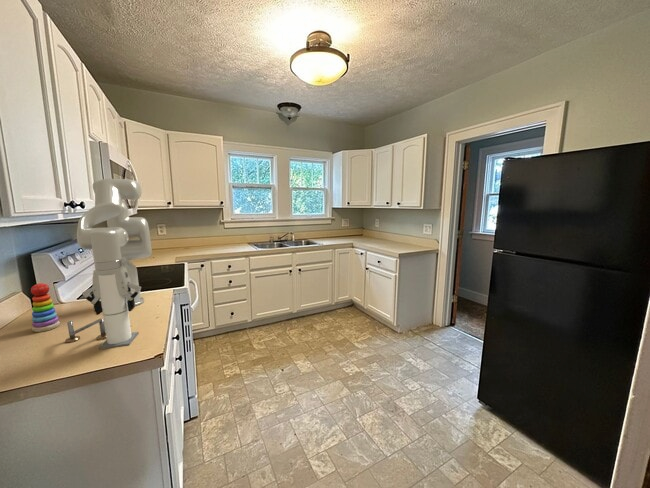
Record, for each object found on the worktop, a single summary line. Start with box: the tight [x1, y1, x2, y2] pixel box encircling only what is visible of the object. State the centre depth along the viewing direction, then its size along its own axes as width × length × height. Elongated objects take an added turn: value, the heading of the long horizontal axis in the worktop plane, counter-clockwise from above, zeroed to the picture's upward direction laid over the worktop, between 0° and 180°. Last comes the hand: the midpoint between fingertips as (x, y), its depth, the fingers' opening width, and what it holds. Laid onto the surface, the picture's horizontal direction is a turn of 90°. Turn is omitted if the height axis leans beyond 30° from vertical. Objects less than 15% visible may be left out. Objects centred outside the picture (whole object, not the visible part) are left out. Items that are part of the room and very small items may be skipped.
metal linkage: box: [65, 318, 107, 344], centre depth 96 cm, size 14×14×8 cm
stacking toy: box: [30, 282, 61, 333], centre depth 108 cm, size 8×8×19 cm
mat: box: [98, 331, 140, 350], centre depth 99 cm, size 9×9×1 cm
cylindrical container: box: [98, 274, 132, 344], centre depth 97 cm, size 7×7×25 cm
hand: (115, 311), depth 97 cm, fingers open, 9 cm apart
